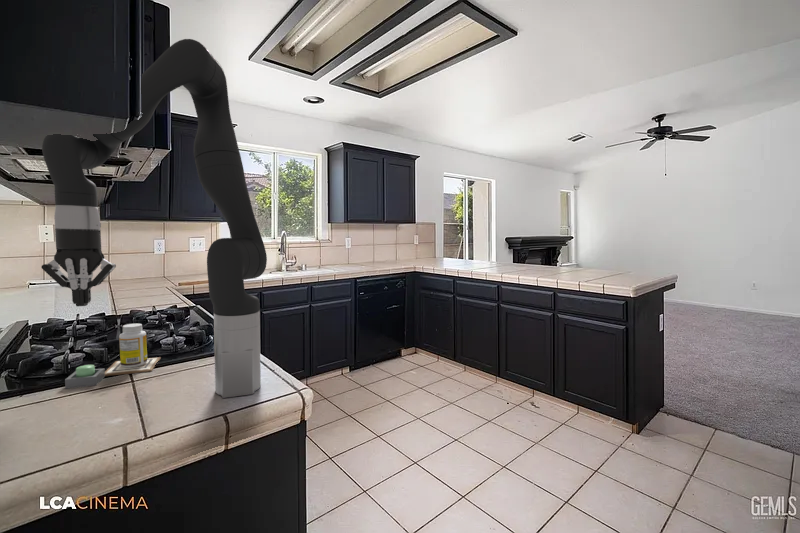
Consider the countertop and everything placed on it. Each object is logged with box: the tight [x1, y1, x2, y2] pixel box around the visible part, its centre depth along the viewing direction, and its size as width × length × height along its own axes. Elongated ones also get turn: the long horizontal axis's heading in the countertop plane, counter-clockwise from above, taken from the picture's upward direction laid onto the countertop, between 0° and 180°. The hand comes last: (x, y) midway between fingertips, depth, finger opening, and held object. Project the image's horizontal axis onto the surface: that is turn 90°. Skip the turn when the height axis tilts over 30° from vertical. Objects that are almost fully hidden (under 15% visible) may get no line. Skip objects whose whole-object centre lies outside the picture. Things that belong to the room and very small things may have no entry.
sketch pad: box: [105, 356, 162, 377], centre depth 93 cm, size 10×10×1 cm
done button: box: [75, 364, 96, 377], centre depth 83 cm, size 3×3×2 cm
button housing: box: [64, 368, 106, 389], centre depth 83 cm, size 5×5×2 cm
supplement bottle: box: [118, 323, 148, 368], centre depth 93 cm, size 6×6×10 cm
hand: (82, 305), depth 82 cm, fingers closed
